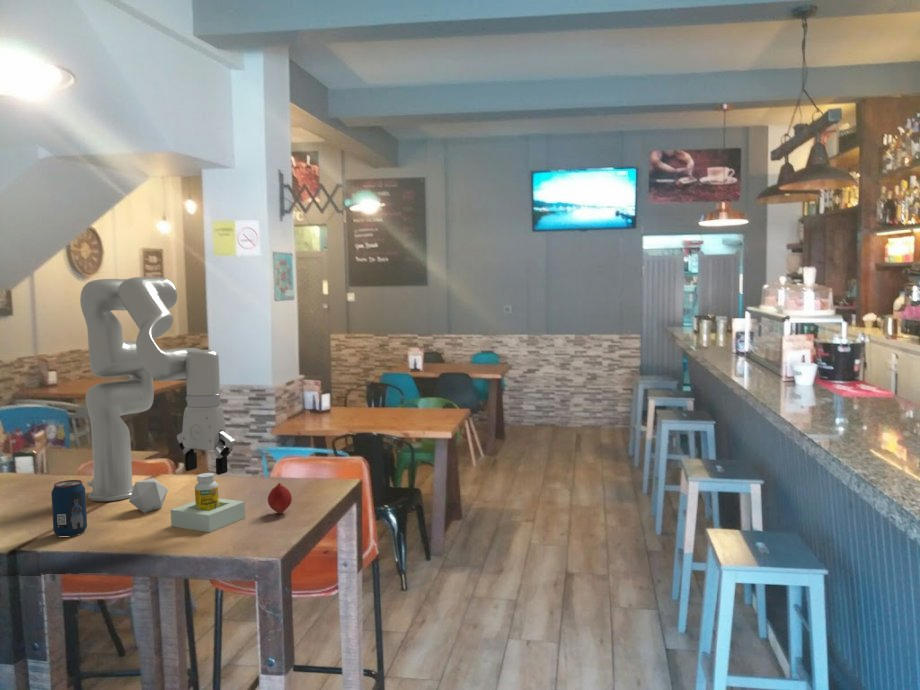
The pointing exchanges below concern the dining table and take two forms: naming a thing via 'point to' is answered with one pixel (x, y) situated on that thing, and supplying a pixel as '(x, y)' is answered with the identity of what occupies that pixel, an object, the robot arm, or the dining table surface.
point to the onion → (279, 498)
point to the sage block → (208, 515)
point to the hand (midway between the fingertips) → (206, 471)
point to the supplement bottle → (206, 492)
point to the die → (148, 495)
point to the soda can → (69, 508)
